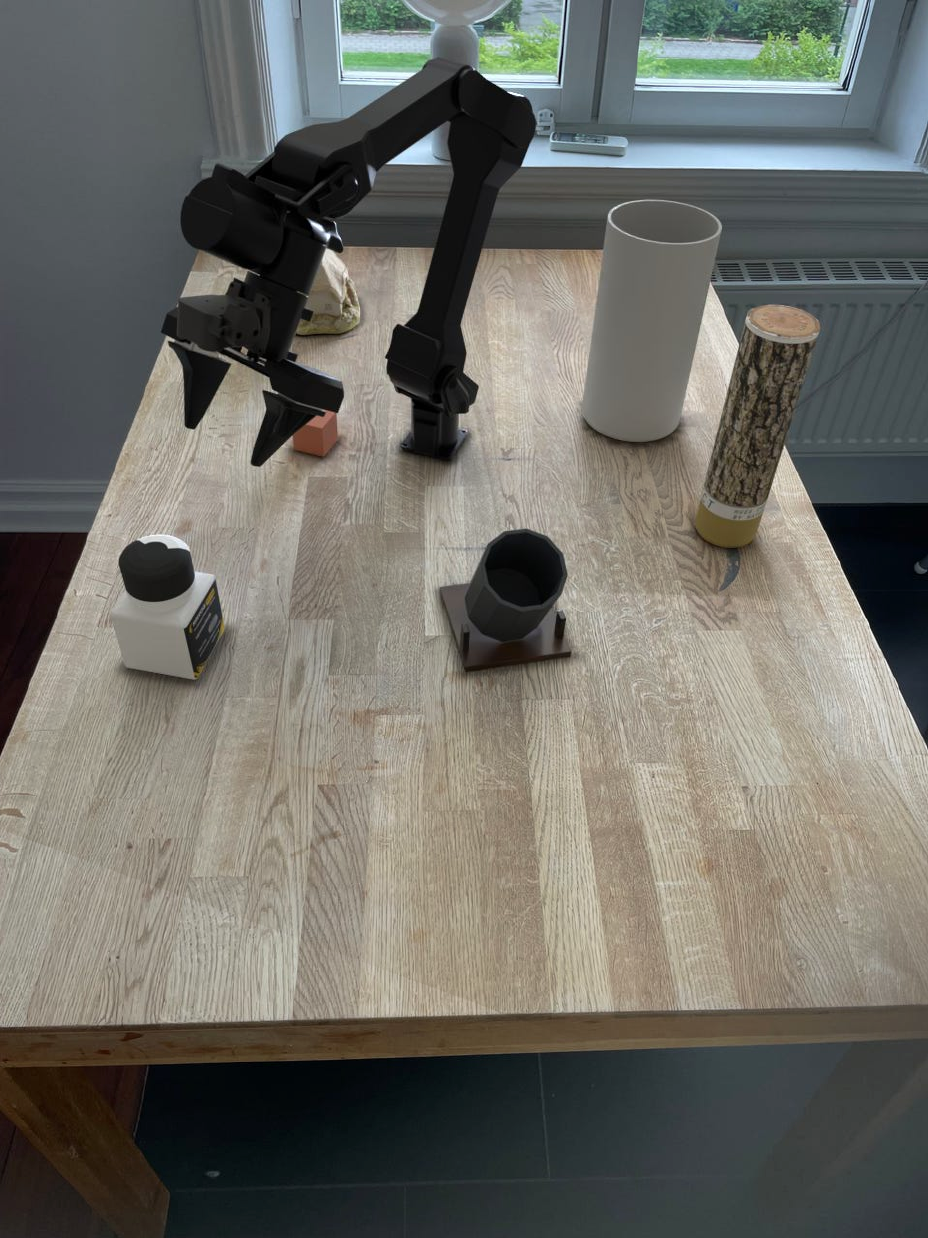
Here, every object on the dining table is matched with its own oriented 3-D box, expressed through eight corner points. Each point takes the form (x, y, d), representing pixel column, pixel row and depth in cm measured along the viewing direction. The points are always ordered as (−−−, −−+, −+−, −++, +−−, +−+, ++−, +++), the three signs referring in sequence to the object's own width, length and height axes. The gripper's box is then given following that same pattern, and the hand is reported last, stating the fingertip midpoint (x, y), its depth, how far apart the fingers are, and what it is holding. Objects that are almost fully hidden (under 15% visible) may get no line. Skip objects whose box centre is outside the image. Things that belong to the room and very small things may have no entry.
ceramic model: (357, 338, 137) (354, 269, 130) (277, 335, 137) (270, 266, 130) (365, 294, 147) (363, 227, 140) (291, 291, 147) (285, 224, 140)
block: (308, 432, 119) (306, 404, 116) (338, 439, 118) (336, 411, 115) (293, 449, 116) (290, 420, 114) (324, 457, 115) (321, 428, 113)
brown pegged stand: (439, 592, 99) (439, 567, 96) (537, 579, 101) (540, 554, 98) (465, 672, 91) (466, 647, 89) (570, 657, 93) (574, 631, 90)
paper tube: (758, 520, 109) (823, 312, 92) (751, 557, 105) (818, 344, 87) (698, 507, 111) (751, 299, 94) (688, 542, 106) (742, 330, 89)
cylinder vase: (568, 430, 122) (594, 230, 104) (596, 384, 130) (624, 192, 113) (666, 454, 118) (709, 252, 101) (688, 405, 127) (731, 211, 110)
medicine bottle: (197, 682, 89) (175, 584, 81) (124, 668, 90) (94, 570, 81) (226, 629, 94) (208, 531, 86) (157, 617, 95) (132, 519, 86)
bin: (459, 571, 94) (474, 534, 85) (534, 562, 96) (556, 524, 87) (473, 646, 92) (490, 615, 83) (550, 635, 94) (574, 604, 85)
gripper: (141, 224, 84) (88, 395, 88) (292, 291, 76) (226, 476, 80) (232, 263, 94) (181, 415, 97) (375, 325, 85) (313, 489, 89)
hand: (221, 446), depth 91 cm, fingers open, 9 cm apart
